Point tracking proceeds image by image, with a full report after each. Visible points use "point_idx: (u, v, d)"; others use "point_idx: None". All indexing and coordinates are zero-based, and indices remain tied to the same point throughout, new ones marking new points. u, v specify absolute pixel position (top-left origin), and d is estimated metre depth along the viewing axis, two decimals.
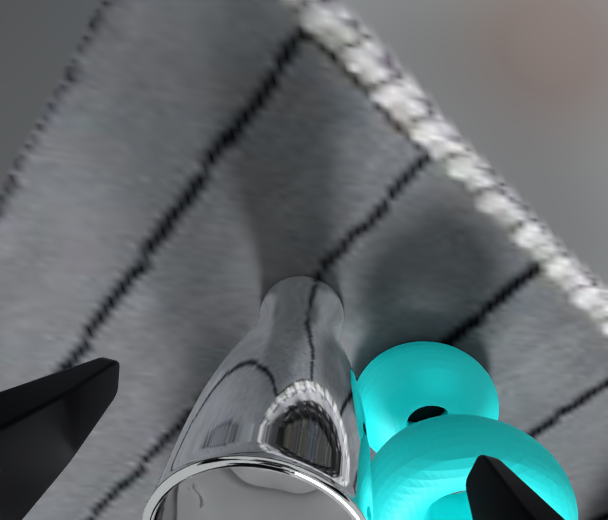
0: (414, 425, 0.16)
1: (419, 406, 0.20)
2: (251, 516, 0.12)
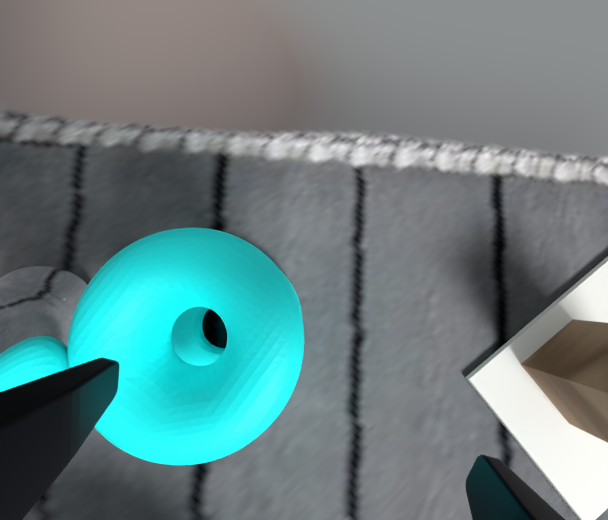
0: None
1: (191, 315, 0.19)
2: None
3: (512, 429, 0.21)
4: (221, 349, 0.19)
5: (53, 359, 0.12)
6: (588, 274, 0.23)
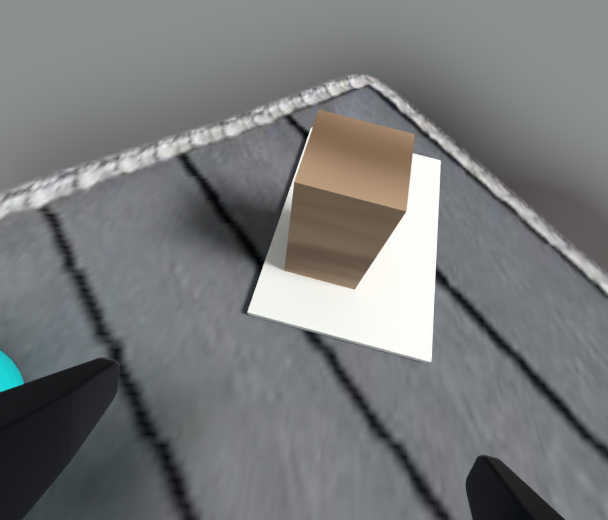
0: None
1: None
2: None
3: (313, 327, 0.20)
4: None
5: None
6: (293, 179, 0.26)
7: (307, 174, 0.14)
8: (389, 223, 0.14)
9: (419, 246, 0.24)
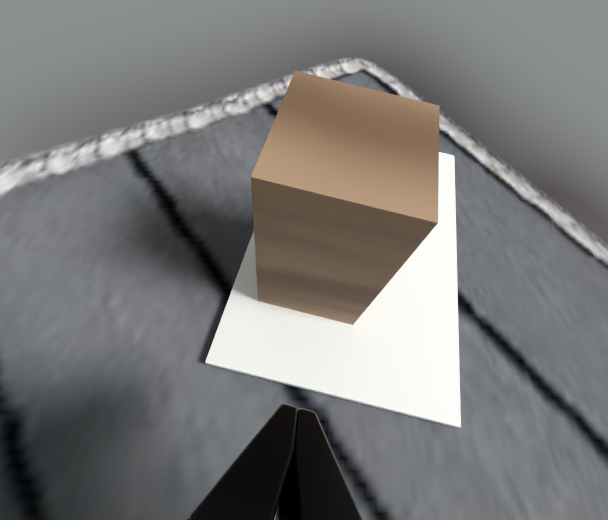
0: None
1: None
2: None
3: (297, 381, 0.14)
4: None
5: None
6: None
7: (273, 164, 0.08)
8: (407, 241, 0.09)
9: (435, 263, 0.18)
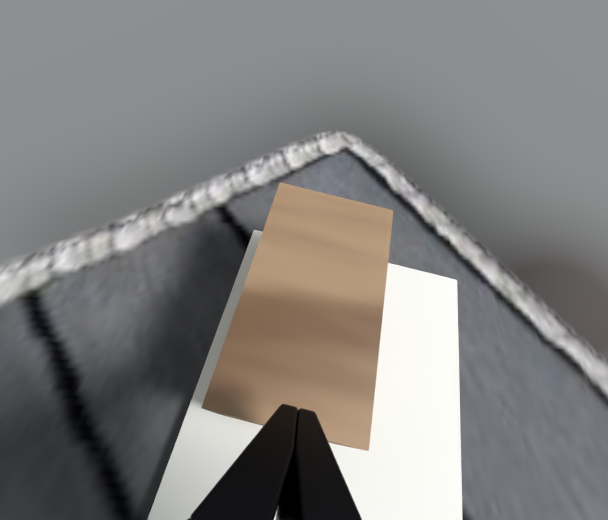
0: None
1: None
2: None
3: None
4: None
5: None
6: (216, 334, 0.15)
7: None
8: (382, 228, 0.13)
9: (431, 472, 0.13)
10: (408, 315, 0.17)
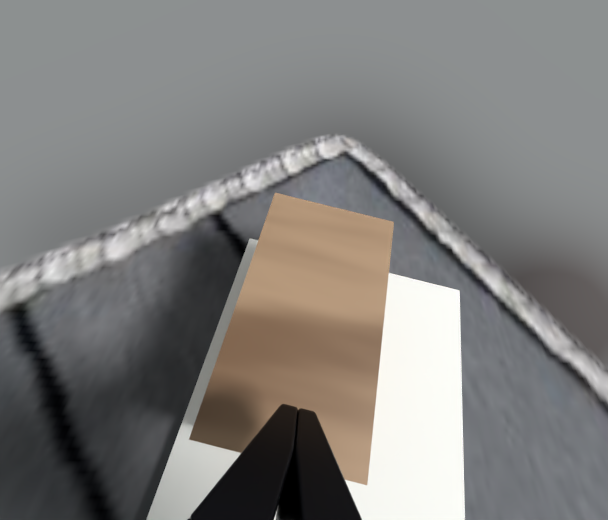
0: None
1: None
2: None
3: None
4: None
5: None
6: (210, 349, 0.15)
7: None
8: (382, 241, 0.12)
9: (433, 495, 0.13)
10: (409, 328, 0.16)
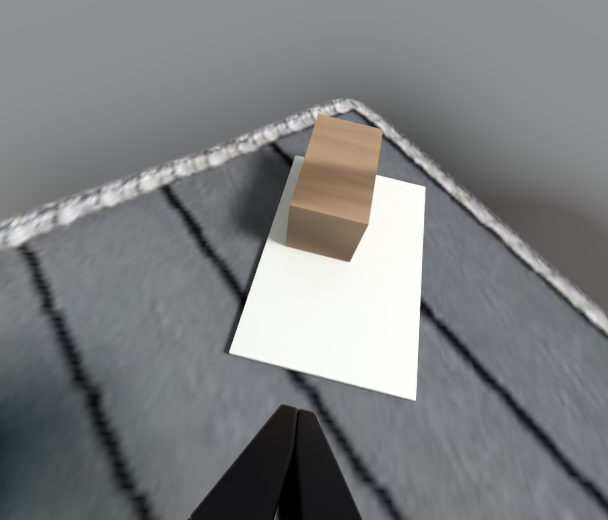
0: None
1: None
2: None
3: (296, 366, 0.20)
4: None
5: None
6: (277, 210, 0.26)
7: None
8: (376, 137, 0.23)
9: (404, 277, 0.24)
10: (393, 204, 0.27)
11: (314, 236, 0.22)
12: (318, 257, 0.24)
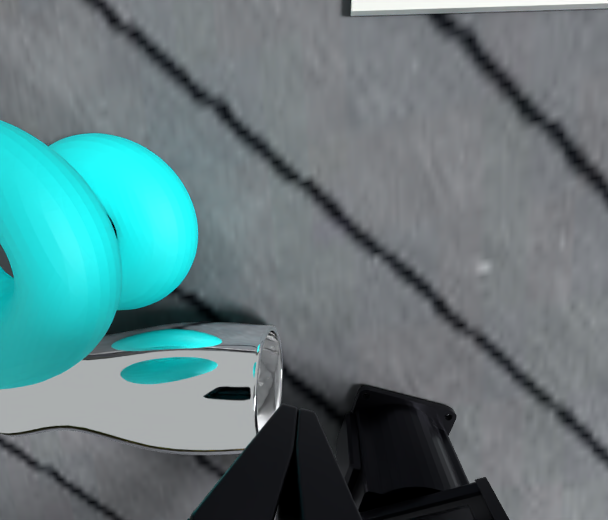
0: None
1: None
2: None
3: (444, 3, 0.15)
4: None
5: (211, 323, 0.18)
6: None
7: None
8: None
9: None
10: None
11: None
12: None
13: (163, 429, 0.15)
